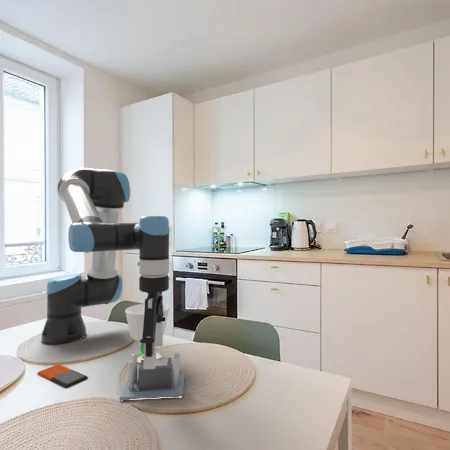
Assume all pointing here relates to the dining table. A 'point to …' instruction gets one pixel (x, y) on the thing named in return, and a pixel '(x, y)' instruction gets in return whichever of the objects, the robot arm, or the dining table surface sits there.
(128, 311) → the cup
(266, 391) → the dining table surface
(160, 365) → the grey block
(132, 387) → the grey fixture stand
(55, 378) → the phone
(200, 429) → the dining table surface
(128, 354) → the dining table surface
